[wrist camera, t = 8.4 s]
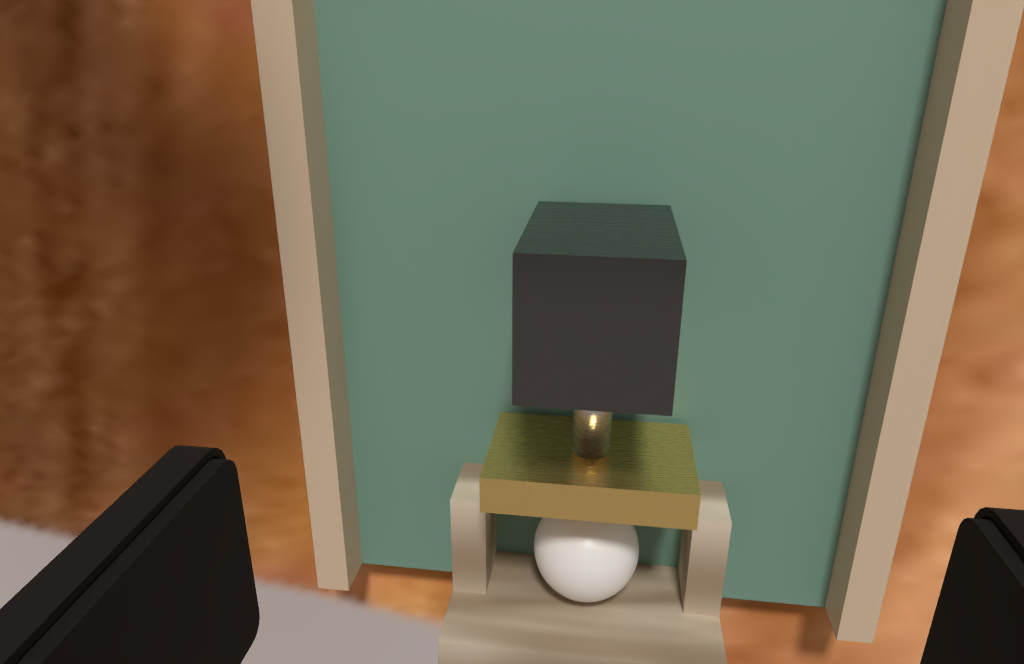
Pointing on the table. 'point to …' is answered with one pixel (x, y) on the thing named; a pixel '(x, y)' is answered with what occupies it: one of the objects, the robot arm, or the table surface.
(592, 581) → the ball
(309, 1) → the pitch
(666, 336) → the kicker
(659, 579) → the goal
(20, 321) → the table surface
